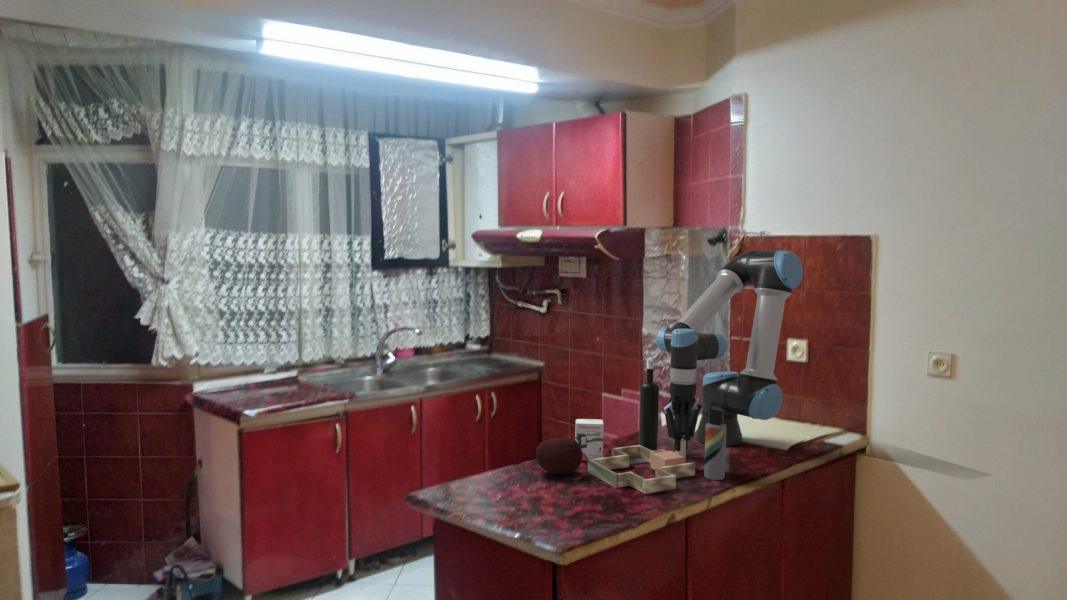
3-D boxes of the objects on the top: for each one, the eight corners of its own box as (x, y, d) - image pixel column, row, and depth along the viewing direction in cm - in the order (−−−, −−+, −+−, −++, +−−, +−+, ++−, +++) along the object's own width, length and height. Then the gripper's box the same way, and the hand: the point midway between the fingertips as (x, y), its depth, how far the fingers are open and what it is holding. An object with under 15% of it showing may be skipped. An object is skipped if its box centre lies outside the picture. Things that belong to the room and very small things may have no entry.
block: (669, 465, 214) (670, 450, 213) (684, 472, 208) (685, 456, 207) (650, 468, 211) (650, 453, 210) (664, 475, 204) (665, 459, 204)
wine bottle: (651, 448, 230) (654, 356, 228) (660, 453, 225) (663, 358, 222) (635, 450, 228) (638, 356, 226) (644, 455, 223) (646, 359, 221)
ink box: (574, 461, 216) (575, 422, 215) (574, 456, 221) (575, 418, 220) (603, 462, 216) (603, 423, 215) (602, 457, 221) (603, 419, 220)
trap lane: (649, 454, 224) (650, 443, 224) (711, 482, 198) (711, 470, 198) (575, 464, 212) (575, 453, 212) (630, 496, 186) (630, 483, 186)
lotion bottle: (710, 472, 207) (713, 404, 205) (728, 477, 203) (730, 407, 201) (699, 476, 203) (702, 407, 201) (717, 481, 199) (720, 410, 197)
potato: (536, 467, 209) (536, 432, 209) (581, 468, 209) (582, 433, 208) (535, 479, 198) (535, 443, 198) (582, 481, 198) (583, 444, 197)
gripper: (692, 378, 215) (690, 455, 217) (656, 381, 210) (654, 460, 211) (709, 382, 209) (706, 462, 210) (672, 385, 203) (670, 467, 205)
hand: (680, 461), depth 211 cm, fingers closed
